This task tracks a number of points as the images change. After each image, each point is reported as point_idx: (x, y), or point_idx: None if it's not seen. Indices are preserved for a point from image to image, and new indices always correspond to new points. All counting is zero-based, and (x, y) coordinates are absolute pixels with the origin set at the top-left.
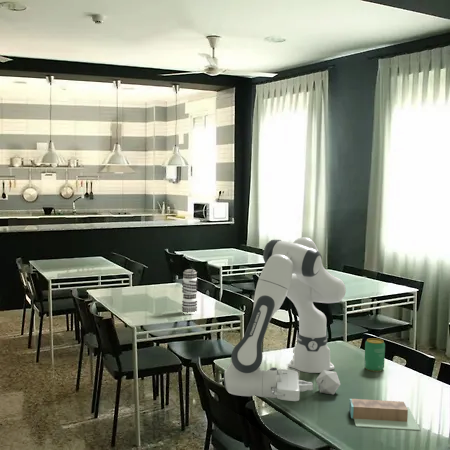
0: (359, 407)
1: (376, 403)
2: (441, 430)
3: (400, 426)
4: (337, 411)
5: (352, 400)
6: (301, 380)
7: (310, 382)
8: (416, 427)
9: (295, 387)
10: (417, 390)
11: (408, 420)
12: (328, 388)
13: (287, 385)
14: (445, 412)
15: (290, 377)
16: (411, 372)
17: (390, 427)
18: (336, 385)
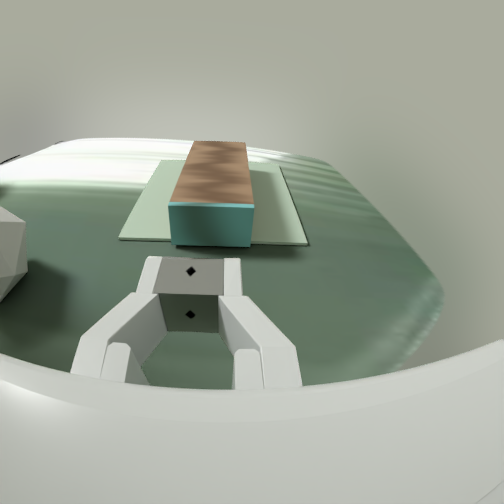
0: (252, 195)
1: (211, 166)
2: (266, 151)
3: (273, 178)
4: None
5: (187, 200)
6: (91, 346)
7: (154, 265)
8: (269, 165)
9: (490, 383)
10: (82, 153)
11: None
12: (18, 263)
13: (477, 500)
14: (184, 140)
15: (32, 490)
16: (17, 161)
17: (287, 190)
18: (25, 232)
